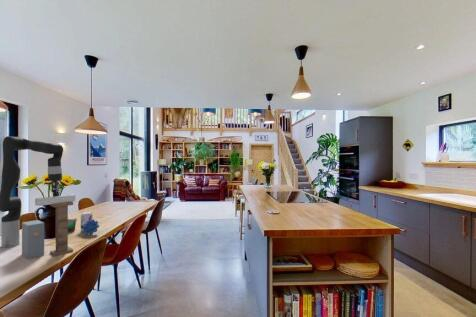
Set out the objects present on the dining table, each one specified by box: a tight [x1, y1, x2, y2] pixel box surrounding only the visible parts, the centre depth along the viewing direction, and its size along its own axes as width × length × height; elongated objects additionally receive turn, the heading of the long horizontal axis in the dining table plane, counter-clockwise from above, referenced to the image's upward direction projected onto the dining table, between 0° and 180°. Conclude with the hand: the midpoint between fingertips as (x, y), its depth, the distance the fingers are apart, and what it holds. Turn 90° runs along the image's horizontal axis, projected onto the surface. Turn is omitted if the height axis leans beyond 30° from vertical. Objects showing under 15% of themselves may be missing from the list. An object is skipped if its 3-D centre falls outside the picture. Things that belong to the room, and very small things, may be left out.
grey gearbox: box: [21, 219, 45, 260], centre depth 153 cm, size 13×8×20 cm, turn 54°
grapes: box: [81, 219, 100, 236], centre depth 194 cm, size 12×7×12 cm, turn 110°
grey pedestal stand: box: [49, 201, 74, 257], centre depth 157 cm, size 8×10×32 cm
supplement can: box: [80, 211, 93, 233], centre depth 203 cm, size 8×8×15 cm
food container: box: [68, 218, 78, 233], centre depth 202 cm, size 12×6×10 cm, turn 105°
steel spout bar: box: [34, 194, 76, 207], centre depth 154 cm, size 4×20×4 cm, turn 144°
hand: (56, 197), depth 163 cm, fingers open, 8 cm apart
